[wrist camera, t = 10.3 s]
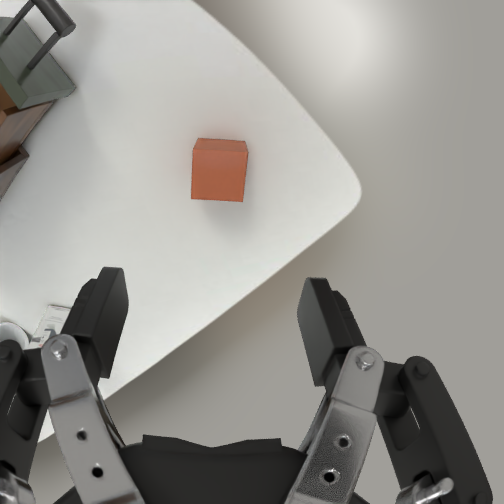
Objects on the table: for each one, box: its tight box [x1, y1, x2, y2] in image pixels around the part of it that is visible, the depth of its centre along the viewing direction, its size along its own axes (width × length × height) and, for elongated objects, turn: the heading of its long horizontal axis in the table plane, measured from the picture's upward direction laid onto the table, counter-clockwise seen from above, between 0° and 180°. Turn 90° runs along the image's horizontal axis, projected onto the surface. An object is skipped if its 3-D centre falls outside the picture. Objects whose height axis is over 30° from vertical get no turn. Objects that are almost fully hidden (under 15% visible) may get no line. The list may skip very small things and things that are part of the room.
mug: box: [0, 322, 29, 350], centre depth 36 cm, size 12×9×12 cm
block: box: [191, 138, 248, 202], centre depth 25 cm, size 4×4×4 cm
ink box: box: [28, 305, 71, 349], centre depth 32 cm, size 9×5×12 cm, turn 171°
